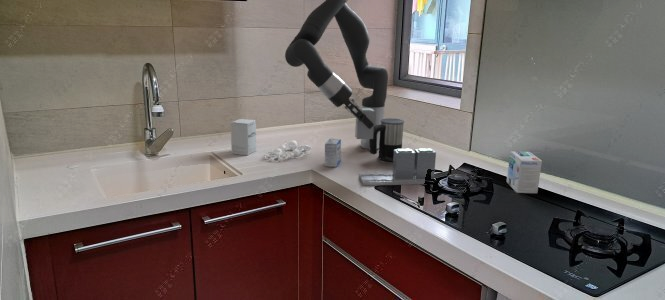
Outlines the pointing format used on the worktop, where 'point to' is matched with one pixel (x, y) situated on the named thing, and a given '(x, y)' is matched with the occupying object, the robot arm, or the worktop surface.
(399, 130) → the milk frother
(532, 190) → the light bulb box
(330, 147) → the medicine box
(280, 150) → the white lumpy mound
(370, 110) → the block
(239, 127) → the supplement box
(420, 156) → the grey module rack
